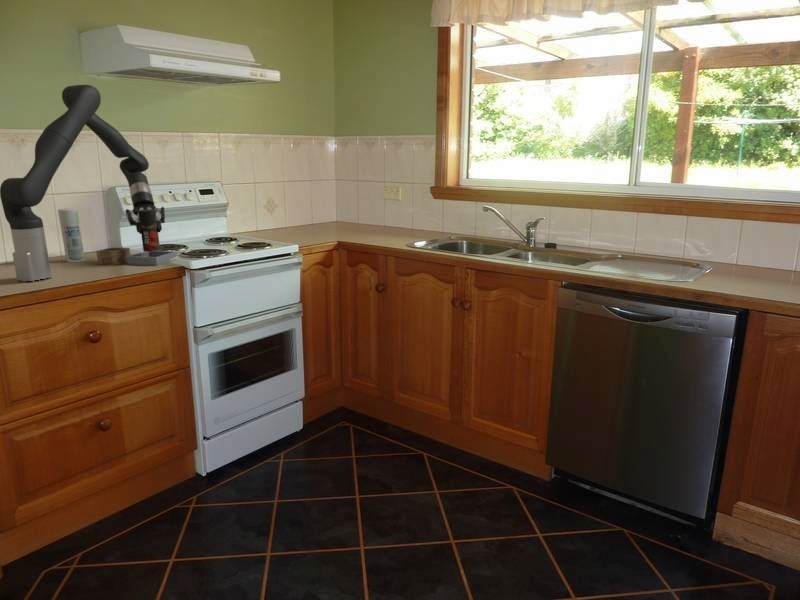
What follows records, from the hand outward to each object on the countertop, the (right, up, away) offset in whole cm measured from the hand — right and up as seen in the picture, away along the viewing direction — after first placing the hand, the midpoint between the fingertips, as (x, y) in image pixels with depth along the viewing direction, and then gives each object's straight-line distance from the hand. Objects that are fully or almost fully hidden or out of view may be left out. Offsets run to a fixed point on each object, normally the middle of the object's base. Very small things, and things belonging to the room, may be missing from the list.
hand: (150, 231), depth 220 cm
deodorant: (-1, -7, +3) cm, 8 cm away
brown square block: (-15, -11, +4) cm, 19 cm away
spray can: (-33, -11, +9) cm, 35 cm away
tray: (-1, -11, +4) cm, 12 cm away
